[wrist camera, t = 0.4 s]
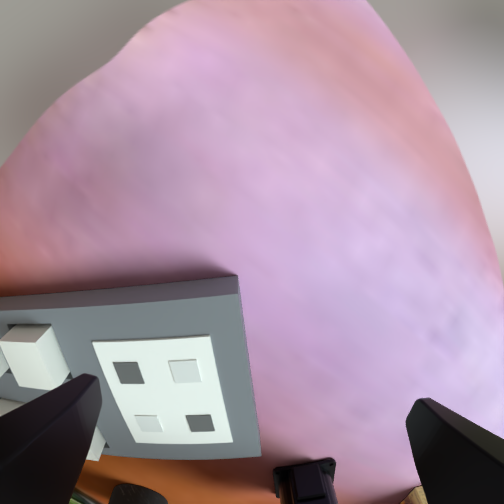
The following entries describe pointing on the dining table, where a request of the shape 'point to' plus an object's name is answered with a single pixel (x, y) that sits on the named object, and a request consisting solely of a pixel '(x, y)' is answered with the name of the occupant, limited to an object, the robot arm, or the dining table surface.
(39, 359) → the button
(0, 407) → the button
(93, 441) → the button
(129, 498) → the travel mug
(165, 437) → the button board
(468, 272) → the dining table surface
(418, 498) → the candy box
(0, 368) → the button
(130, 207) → the dining table surface
